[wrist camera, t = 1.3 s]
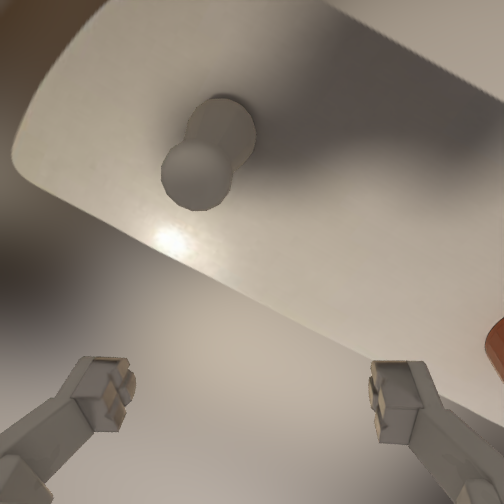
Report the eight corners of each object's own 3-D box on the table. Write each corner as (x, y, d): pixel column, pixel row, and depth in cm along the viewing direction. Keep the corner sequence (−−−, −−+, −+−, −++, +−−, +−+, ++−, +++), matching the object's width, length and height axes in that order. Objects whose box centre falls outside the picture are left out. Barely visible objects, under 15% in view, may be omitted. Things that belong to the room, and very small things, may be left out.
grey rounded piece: (180, 124, 31) (122, 176, 20) (226, 77, 29) (188, 108, 18) (225, 172, 33) (194, 243, 22) (271, 132, 31) (262, 190, 20)
